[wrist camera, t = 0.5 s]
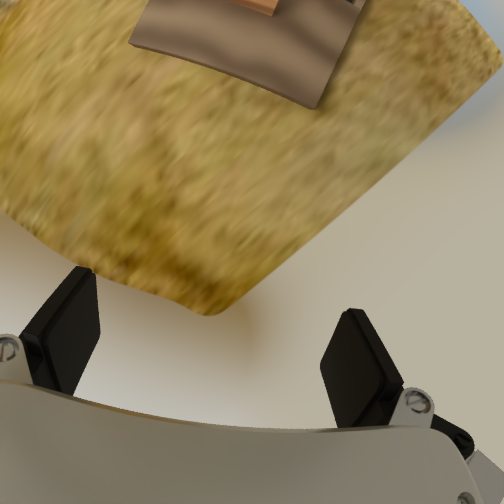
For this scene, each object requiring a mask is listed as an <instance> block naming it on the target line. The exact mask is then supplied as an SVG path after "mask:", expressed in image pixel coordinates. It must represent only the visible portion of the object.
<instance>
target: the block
mask: <svg viewBox="0 0 504 504" xmlns="http://www.w3.org/2000/svg"><path fill="white" fill-rule="evenodd" d="M228 1H229V2H232V3H235V4H238V5H241V6H244V7H247V8H250V9H253V10H256V11H258V12H261V13H264V14H266V15H269V16H272V15H273V13H274V11H275V9H276V7H277V5H278V4H279V2H280V0H228Z"/></svg>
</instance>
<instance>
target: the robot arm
mask: <svg viewBox="0 0 504 504" xmlns="http://www.w3.org/2000/svg"><path fill="white" fill-rule="evenodd" d="M96 287H97V286H96V275H95V273H92V270H91V269H90V268H85V267H80V266H76V267H75V268H74V269H73V270H72V271H71V272H70V274H69V275H68V276H67V277H66V278H65V279H64V280H63V282H62V283H61V284H60V285H59V286H58V288H57V289H56V290H55V291H54V292H53V294H52V295H51V296H50V297H49V298H48V299H47V301H46V302H45V303H44V304H43V306H42V307H41V308H40V309H39V310H38V312H37V313H36V314H35V316H34V317H33V318H32V319H31V321H30V322H29V324H28V325H27V326H26V327H25V329H24V330H23V331H22V333H21V334H20V335H19V337H17V336H15V335H12V334H1V335H0V504H500V503H501V501H502V499H503V497H504V472H503V471H502V470H501V469H500V468H499V467H497V466H496V465H495V464H494V463H493V462H492V461H491V460H490V459H488V458H487V457H486V456H485V455H484V454H483V453H482V452H481V451H479V450H477V451H476V452H475V451H474V446H475V445H474V441H473V439H472V437H471V436H470V435H469V434H468V433H467V432H466V431H464V430H463V429H461V428H459V427H457V426H455V425H454V424H452V423H450V422H448V421H446V420H444V419H443V418H441V417H439V416H437V415H435V414H434V403H433V400H432V399H431V397H430V396H429V395H428V394H427V393H426V392H424V391H423V390H421V389H418V388H412V387H411V388H407V389H405V390H404V388H403V386H402V385H403V383H404V381H403V379H402V377H401V375H400V373H399V372H398V370H397V368H396V366H395V364H394V362H393V361H392V359H391V357H390V355H389V354H388V352H387V350H386V348H385V346H384V344H383V343H382V341H381V339H380V338H379V336H378V334H377V332H376V330H375V329H374V327H373V325H372V324H371V322H370V320H369V318H368V317H367V315H366V313H365V312H364V310H362V309H354V308H349V309H348V310H347V311H344V312H343V313H342V315H341V317H340V319H339V322H338V324H337V326H336V329H335V331H334V333H333V336H332V338H331V340H330V342H329V345H328V347H327V349H326V351H325V353H324V355H323V358H322V360H321V363H320V370H321V373H322V377H323V380H324V383H325V387H326V390H327V394H328V397H329V400H330V404H331V407H332V410H333V413H334V417H335V421H336V424H337V427H338V428H331V429H330V428H329V429H328V428H327V429H274V428H252V427H237V426H225V425H216V424H207V423H198V422H191V421H184V420H177V419H171V418H165V417H159V416H153V415H148V414H143V413H138V412H134V411H129V410H125V409H120V408H116V407H112V406H108V405H104V404H100V403H96V402H92V401H88V400H84V399H81V398H77V397H74V396H73V394H74V391H75V389H76V387H77V385H78V383H79V380H80V378H81V376H82V374H83V372H84V369H85V367H86V365H87V363H88V361H89V359H90V357H91V354H92V352H93V350H94V348H95V346H96V344H97V342H98V340H99V337H100V323H99V322H100V321H99V311H98V300H97V288H96Z"/></svg>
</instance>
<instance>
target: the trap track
mask: <svg viewBox="0 0 504 504" xmlns="http://www.w3.org/2000/svg"><path fill="white" fill-rule="evenodd" d="M365 1H366V0H280V2H279V4H278V5H277V7H276V9H275V11H274V13H273V15H272V16H269V15H266V14H264V13H261V12H258V11H256V10H253V9H250V8H247V7H244V6H241V5H238V4H235V3H232V2H229V1H228V0H149V2H148V3H147V5H146V7H145V9H144V11H143V13H142V15H141V17H140V19H139V21H138V22H137V24H136V27H135V29H134V31H133V33H132V35H131V37H130V39H129V41H128V43H129V44H131V45H133V46H134V47H138V48H142V49H146V50H150V51H154V52H158V53H162V54H165V55H169V56H172V57H176V58H179V59H183V60H186V61H189V62H192V63H196V64H199V65H202V66H205V67H208V68H211V69H214V70H217V71H219V72H222V73H225V74H228V75H231V76H233V77H236V78H239V79H241V80H244V81H246V82H249V83H251V84H254V85H256V86H259V87H261V88H264V89H266V90H268V91H271V92H273V93H275V94H278V95H280V96H282V97H284V98H287V99H289V100H291V101H293V102H295V103H297V104H300V105H302V106H304V107H306V108H308V109H315V108H316V105H317V103H318V101H319V99H320V97H321V95H322V92H323V90H324V88H325V86H326V84H327V82H328V80H329V77H330V75H331V73H332V71H333V69H334V67H335V65H336V63H337V60H338V58H339V56H340V54H341V52H342V50H343V48H344V45H345V43H346V41H347V39H348V37H349V35H350V33H351V30H352V28H353V26H354V24H355V22H356V20H357V18H358V16H359V13H360V11H361V9H362V7H363V5H364V3H365Z"/></svg>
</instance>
